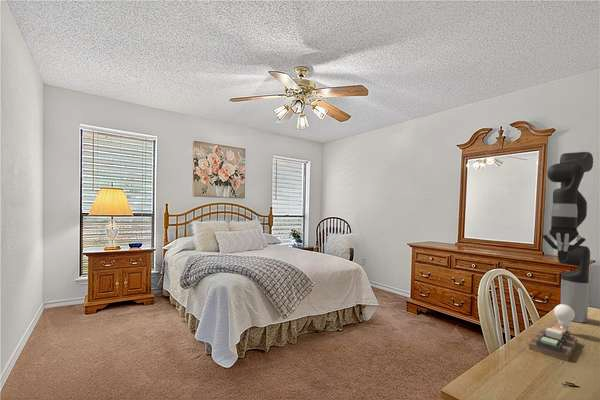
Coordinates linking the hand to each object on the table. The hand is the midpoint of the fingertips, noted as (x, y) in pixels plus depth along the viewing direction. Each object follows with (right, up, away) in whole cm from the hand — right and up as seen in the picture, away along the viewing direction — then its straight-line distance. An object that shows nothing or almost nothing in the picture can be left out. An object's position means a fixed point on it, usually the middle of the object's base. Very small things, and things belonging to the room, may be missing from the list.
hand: (562, 260), depth 117 cm
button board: (-11, -28, -9) cm, 32 cm away
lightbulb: (+4, -30, +4) cm, 30 cm away
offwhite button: (-11, -25, -9) cm, 29 cm away
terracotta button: (-5, -27, -4) cm, 27 cm away
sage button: (-17, -26, -14) cm, 34 cm away
